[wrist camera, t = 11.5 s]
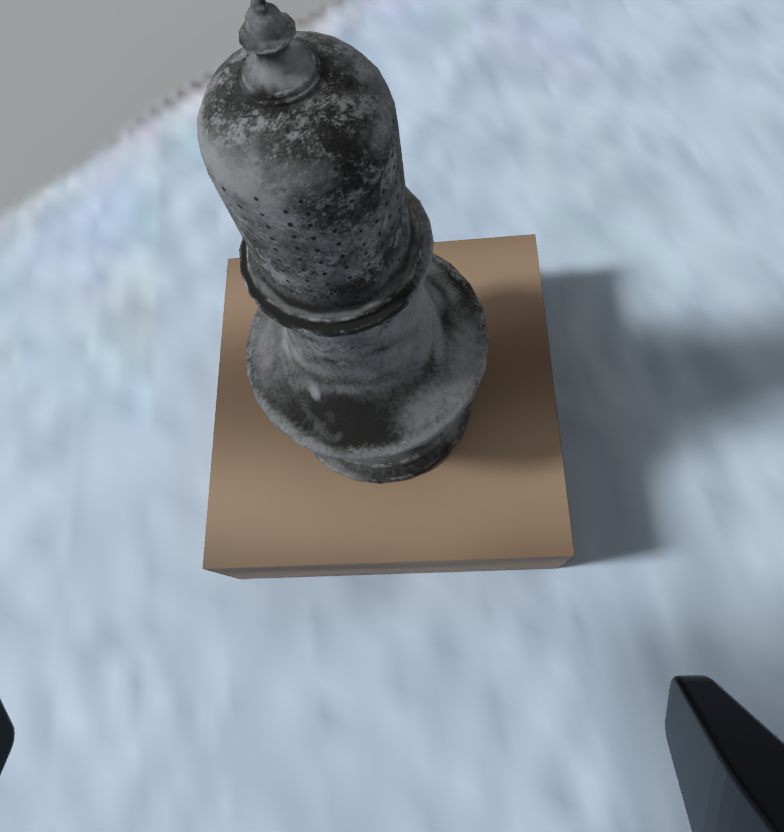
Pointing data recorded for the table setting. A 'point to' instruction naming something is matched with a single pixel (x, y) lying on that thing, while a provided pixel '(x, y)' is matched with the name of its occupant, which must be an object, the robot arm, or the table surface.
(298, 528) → the walnut pedestal
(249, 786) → the table surface
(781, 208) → the table surface
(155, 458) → the table surface
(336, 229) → the grey chess bishop
